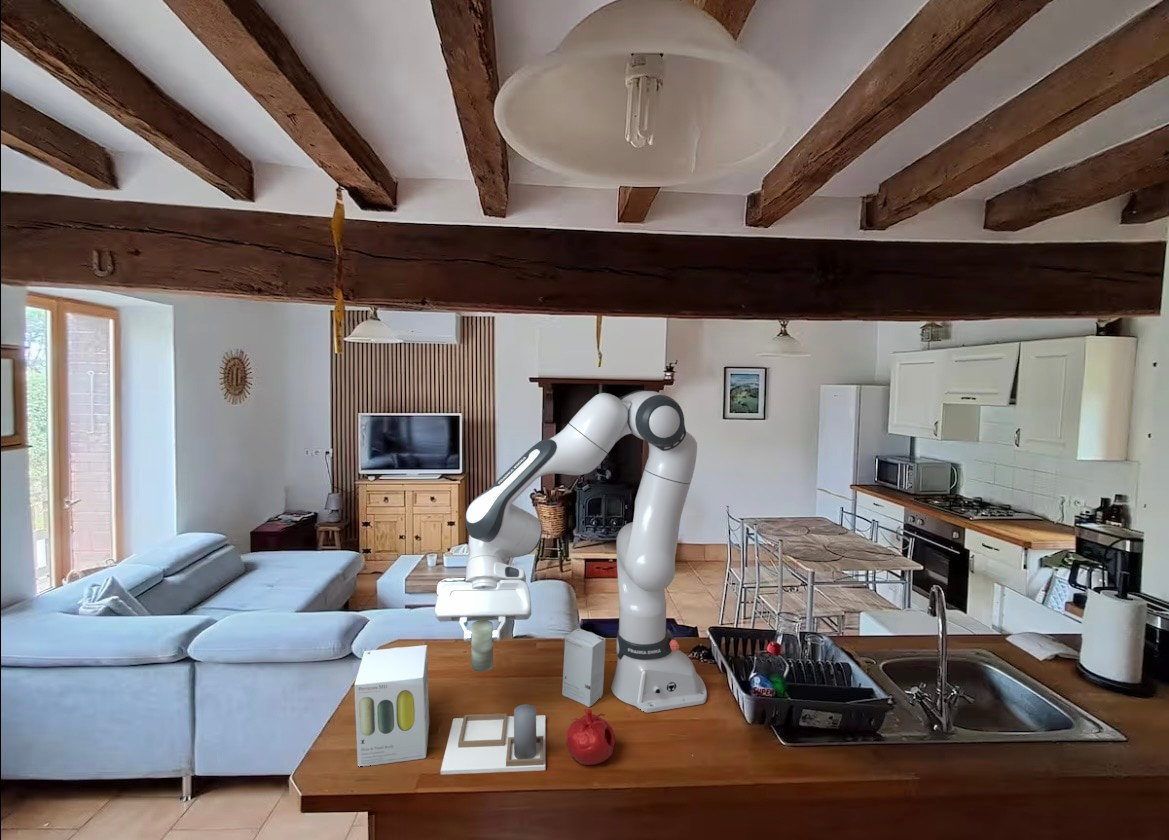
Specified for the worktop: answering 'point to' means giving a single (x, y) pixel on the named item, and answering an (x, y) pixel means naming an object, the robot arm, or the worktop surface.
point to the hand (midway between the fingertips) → (481, 640)
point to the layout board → (496, 743)
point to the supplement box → (392, 705)
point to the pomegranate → (590, 739)
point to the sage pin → (482, 645)
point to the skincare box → (583, 667)
